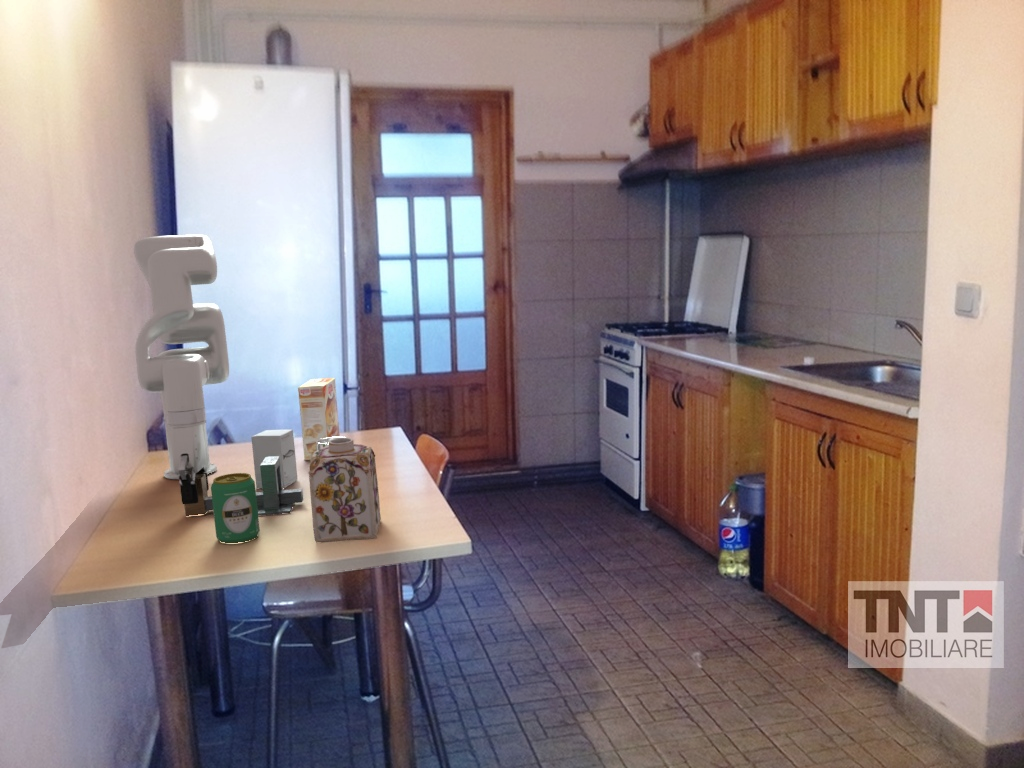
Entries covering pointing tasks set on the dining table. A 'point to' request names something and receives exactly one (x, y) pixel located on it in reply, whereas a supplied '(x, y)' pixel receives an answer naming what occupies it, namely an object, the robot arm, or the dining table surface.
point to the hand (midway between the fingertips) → (195, 497)
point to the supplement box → (275, 453)
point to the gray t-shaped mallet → (284, 496)
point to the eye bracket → (272, 487)
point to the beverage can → (235, 508)
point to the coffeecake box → (318, 412)
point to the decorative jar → (344, 492)
